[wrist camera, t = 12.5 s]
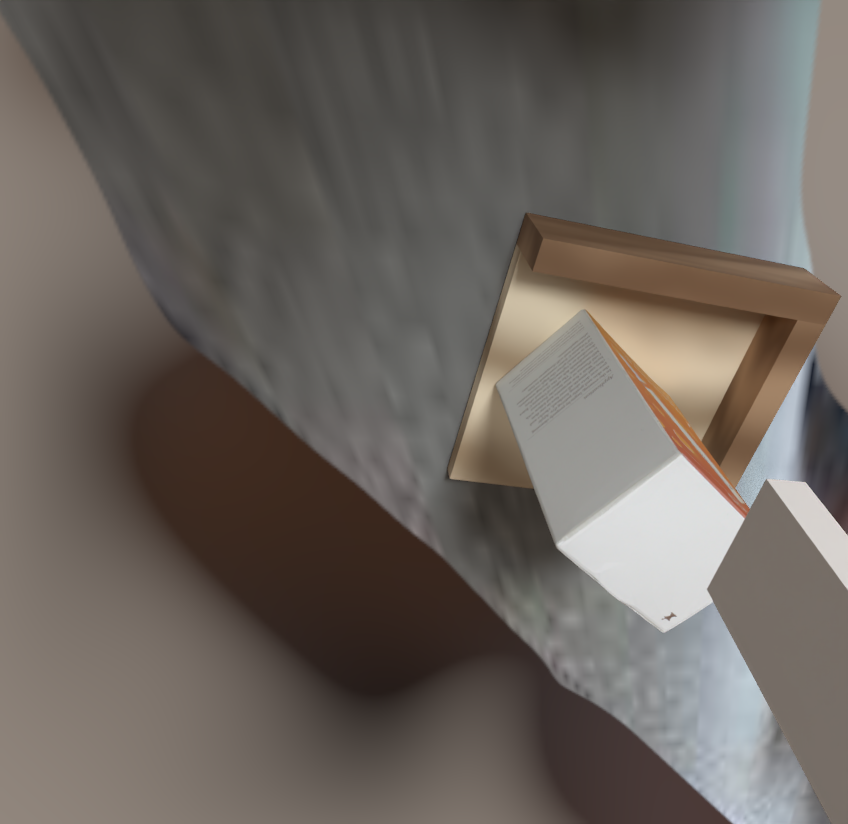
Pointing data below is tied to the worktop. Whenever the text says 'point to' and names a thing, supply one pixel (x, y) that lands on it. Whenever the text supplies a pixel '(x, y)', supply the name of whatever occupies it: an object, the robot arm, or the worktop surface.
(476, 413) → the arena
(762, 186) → the worktop surface
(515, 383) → the small box
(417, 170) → the worktop surface
